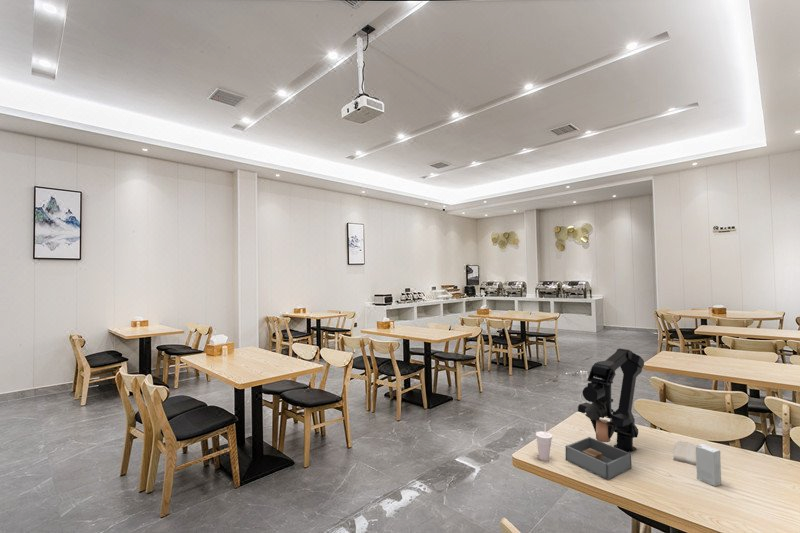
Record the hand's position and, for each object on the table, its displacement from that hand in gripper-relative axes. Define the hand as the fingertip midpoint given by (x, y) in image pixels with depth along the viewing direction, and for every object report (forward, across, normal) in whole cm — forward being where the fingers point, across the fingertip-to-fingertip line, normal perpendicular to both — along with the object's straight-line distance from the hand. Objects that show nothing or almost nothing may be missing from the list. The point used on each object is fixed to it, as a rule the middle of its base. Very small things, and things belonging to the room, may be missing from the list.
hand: (603, 435), depth 158 cm
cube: (+10, 0, -7) cm, 12 cm away
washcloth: (+11, +16, +35) cm, 40 cm away
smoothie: (+10, -14, -18) cm, 25 cm away
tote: (+10, 0, -4) cm, 11 cm away
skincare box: (+11, +28, +18) cm, 35 cm away
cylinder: (+2, 0, 0) cm, 2 cm away
